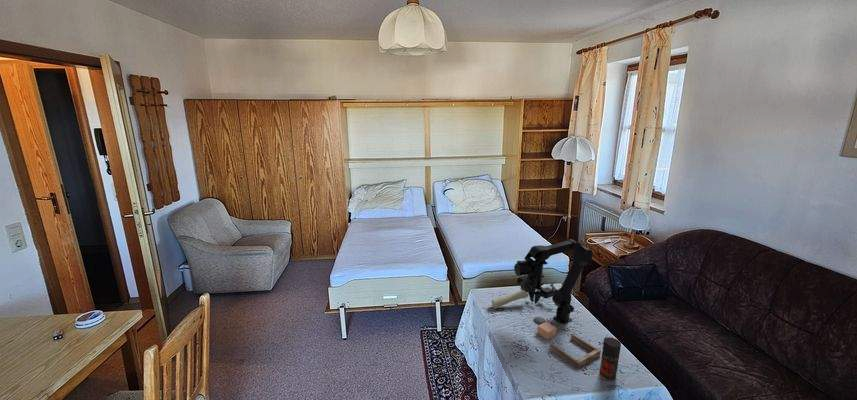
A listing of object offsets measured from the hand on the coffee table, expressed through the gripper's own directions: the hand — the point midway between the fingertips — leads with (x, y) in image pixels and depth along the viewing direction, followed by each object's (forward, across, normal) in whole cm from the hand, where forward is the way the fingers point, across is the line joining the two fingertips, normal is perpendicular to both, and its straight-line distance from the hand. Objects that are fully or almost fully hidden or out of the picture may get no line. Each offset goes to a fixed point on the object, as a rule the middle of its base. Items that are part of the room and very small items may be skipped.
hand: (533, 302), depth 173 cm
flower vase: (+12, -16, +10) cm, 22 cm away
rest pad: (+12, 0, +6) cm, 13 cm away
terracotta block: (+12, +9, 0) cm, 15 cm away
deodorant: (+12, +40, 0) cm, 42 cm away
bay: (+12, +25, 0) cm, 28 cm away
